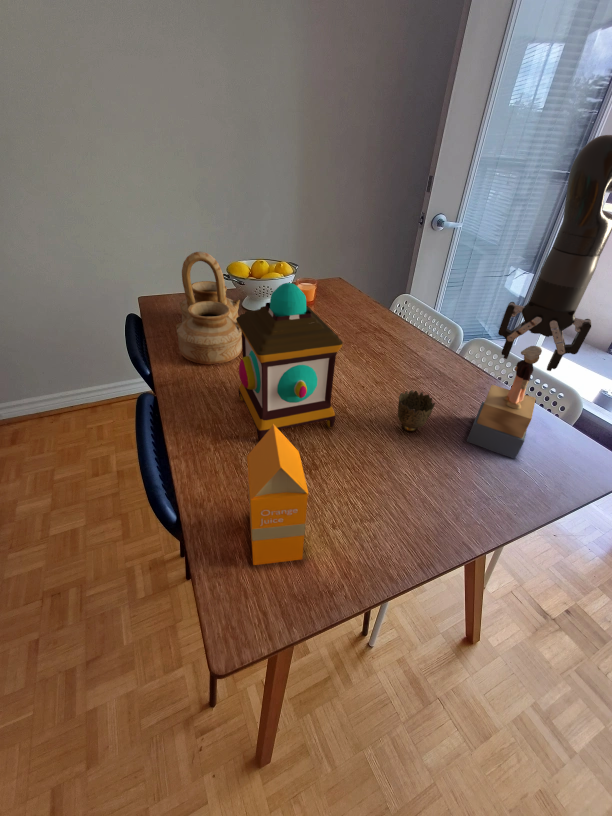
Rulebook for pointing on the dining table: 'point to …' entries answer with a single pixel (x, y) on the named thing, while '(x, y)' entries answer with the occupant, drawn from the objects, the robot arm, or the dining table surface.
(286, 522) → the orange juice
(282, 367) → the decorative lantern
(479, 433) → the base block
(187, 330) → the ceramic vessel
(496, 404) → the top block
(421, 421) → the cup
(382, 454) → the dining table surface
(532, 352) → the grandmother figurine
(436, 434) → the dining table surface
